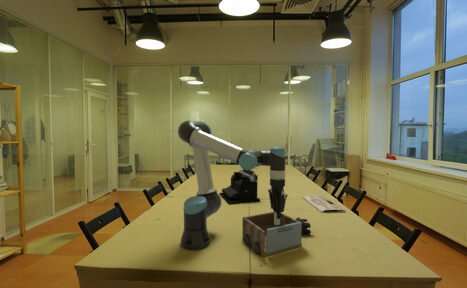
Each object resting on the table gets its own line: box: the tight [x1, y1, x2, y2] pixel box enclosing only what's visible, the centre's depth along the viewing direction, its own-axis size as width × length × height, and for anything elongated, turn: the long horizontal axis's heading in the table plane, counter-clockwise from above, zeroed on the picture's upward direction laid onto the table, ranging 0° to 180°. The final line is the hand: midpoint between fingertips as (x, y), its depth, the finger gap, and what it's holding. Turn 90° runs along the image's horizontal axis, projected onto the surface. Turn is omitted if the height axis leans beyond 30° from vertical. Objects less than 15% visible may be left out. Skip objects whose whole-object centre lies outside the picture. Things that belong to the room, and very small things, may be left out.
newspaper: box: [302, 195, 346, 214], centre depth 184 cm, size 37×19×3 cm, turn 4°
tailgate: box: [266, 222, 302, 253], centre depth 110 cm, size 2×20×11 cm, turn 116°
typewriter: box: [219, 169, 261, 206], centre depth 201 cm, size 31×27×25 cm
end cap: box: [294, 217, 312, 236], centre depth 133 cm, size 10×7×7 cm
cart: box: [241, 211, 302, 257], centre depth 120 cm, size 20×26×12 cm
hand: (277, 224), depth 115 cm, fingers closed
